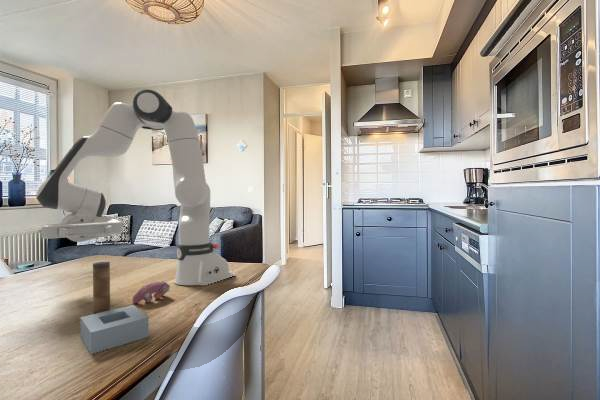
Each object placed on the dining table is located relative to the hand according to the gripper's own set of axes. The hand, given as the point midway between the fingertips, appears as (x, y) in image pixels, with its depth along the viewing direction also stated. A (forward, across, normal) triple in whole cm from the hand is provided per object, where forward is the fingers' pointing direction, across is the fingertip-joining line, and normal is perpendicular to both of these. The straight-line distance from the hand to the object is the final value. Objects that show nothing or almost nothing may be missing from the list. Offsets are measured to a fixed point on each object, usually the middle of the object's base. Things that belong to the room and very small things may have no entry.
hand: (89, 231), depth 87 cm
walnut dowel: (+14, 0, +22) cm, 26 cm away
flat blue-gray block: (+26, 0, +22) cm, 34 cm away
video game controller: (+7, +15, +22) cm, 28 cm away
